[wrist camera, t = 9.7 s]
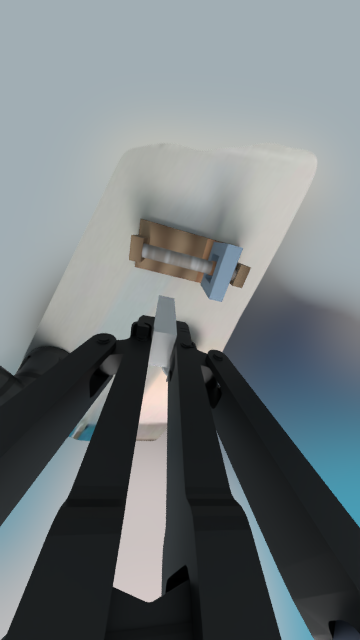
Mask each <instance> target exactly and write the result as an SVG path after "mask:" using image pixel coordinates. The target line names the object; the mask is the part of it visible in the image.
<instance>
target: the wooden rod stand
mask: <svg viewBox="0 0 360 640" xmlns="http://www.w3.org/2000/svg"><path fill="white" fill-rule="evenodd" d="M214 242H219V241H216V240H212V239H209V238H205V237H202V236H198V235H195V234H191V233H188V232H185V231H181V230H178V229H174V228H171V227H167V226H164V225H161V224H157V223H154V222H150V221H147V220H143V219H141V220H140V229H139V235H131V244H130V254H129V260H131V261H135V262H136V263H135V267H138V268H142V269H146V270H150V271H154V272H158V273H162V274H166V275H170V276H174V277H179V278H183V279H187V280H191V281H195V282H199V283H201V281H202V278H203V275H204V273H206V274H208V275H211V276H213V273H214V270H215V267H216V264H217V262H216V261H209V260H208V259H209V256H210V252H211V249H212V246H213V243H214ZM219 243H222V242H219ZM249 271H250V267H248V266H246V265H243V264H241V263H238V262H237V265H236V267H235V270H234V272H233V275H232V278H231V280H230V284H231V285H232V286H236V287H240V288H242V287H243V284H244V282H245V280H246V278H247V275H248V273H249Z"/></svg>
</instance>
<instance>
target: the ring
mask: <svg viewBox="0 0 360 640" xmlns="http://www.w3.org/2000/svg"><path fill="white" fill-rule="evenodd" d="M242 250H243V248H241V247H237V246H234V245H230V244H226V243H219V242H214V243H213V246H212V249H211V252H210V256H209V259H208V260H209V261H216V262H217V264H216V267H215V270H214V273H213V276H211V275H208V274H206V273H204V275H203V278H202V281H201V286H202V288H203V290H204V291H205V293H206V295H207V296H208V298H209V299H212V300H216V301H220V302H222V300H223V298H224V295H225V293H226V290H227V288H228V285H229V283H230V280H231V278H232V275H233V272H234V270H235V267H236V265H237V262H238V260H239V257H240V255H241V252H242Z"/></svg>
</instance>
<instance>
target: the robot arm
mask: <svg viewBox="0 0 360 640" xmlns="http://www.w3.org/2000/svg"><path fill="white" fill-rule="evenodd" d="M169 364H170V368H169V372H168V376H167V379H166V382H168V421H167V495H166V498H167V500H166V530H165V537H164V545H163V560H162V596H161V597H159V598H158V599H156V600H155V601H153V602H145V601H143V600H140V599H138V598H136V597H134V596H132V595H130V594H127V593H125V592H123V591H121V590H119V589H116V588H114V587H113V581H114V575H115V569H116V562H117V556H118V549H119V544H120V538H121V530H122V524H123V519H124V511H125V505H126V498H127V491H128V485H129V479H130V473H131V467H132V460H133V454H134V447H135V442H136V436H137V430H138V424H139V417H140V411H141V405H142V399H143V393H144V387H145V381H146V374H147V368H148V365H152V366H160V367H167V368H168V367H169ZM114 374H116V375H115V378H114V380H113V383H112V386H111V388H110V391H109V393H108V396H107V399H106V401H105V404H104V406H103V409H102V411H101V414H100V417H99V419H98V422H97V424H96V427H95V430H94V432H93V435H92V437H91V440H90V443H89V445H88V448H87V450H86V453H85V456H84V458H83V461H82V463H81V466H80V469H79V471H78V474H77V477H76V479H75V482H74V484H73V487H72V489H71V492H70V494H69V496H68V498H67V499H66V501H65V502H64V503H63V505H62V506H61V507H60V509H59V511H58V513H57V515H56V517H55V519H54V521H53V523H52V525H51V528H50V530H49V532H48V534H47V537H46V539H45V542H44V544H43V547H42V549H41V552H40V554H39V557H38V559H37V562H36V564H35V566H34V569H33V571H32V574H31V576H30V579H29V581H28V583H27V586H26V588H25V591H24V593H23V596H22V598H21V601H20V603H19V606H18V608H17V611H16V613H15V616H14V618H13V620H12V623H11V625H10V628H9V630H8V633H7V634H6V635H5V636H4V637H3V638H2V639H1V640H281V636H280V633H279V629H278V626H277V622H276V618H275V614H274V611H273V607H272V604H271V600H270V597H269V593H268V589H267V586H266V582H265V578H264V575H263V571H262V568H261V564H260V560H259V557H258V553H257V549H256V546H255V542H254V538H253V535H252V531H251V528H250V525H249V522H248V519H247V516H246V514H245V512H244V510H243V509H242V507H241V505H239V503H238V502H237V501H236V500H235V499H234V498H233V496H232V494H231V490H230V487H229V483H228V478H227V474H226V470H225V466H224V462H223V458H222V453H221V449H220V445H219V441H218V437H217V433H218V435H219V437H220V440H221V441H222V444H223V446H224V449H225V451H226V453H227V455H228V458H229V460H230V462H231V464H232V467H233V469H234V471H235V473H236V476H237V478H238V480H239V482H240V484H241V487H242V489H243V491H244V494H245V496H246V498H247V500H248V502H249V505H250V507H251V509H252V512H253V514H254V516H255V518H256V521H257V523H258V525H259V527H260V529H261V532H262V534H263V536H264V538H265V541H266V543H267V545H268V547H269V549H270V552H271V554H272V556H273V559H274V561H275V563H276V565H277V568H278V570H279V572H280V574H281V576H282V578H283V580H284V583H285V585H286V587H287V589H288V591H289V593H290V595H291V597H292V599H293V601H294V603H295V605H296V607H297V609H298V610H299V612H300V614H301V616H302V618H303V620H304V622H305V624H306V625H307V627H308V629H309V631H310V633H311V635H312V636H313V638H314V640H360V528H359V526H358V525H357V524H356V522H355V521H354V520H353V519H352V517H351V516H350V515H349V513H348V512H347V511H346V510H345V508H344V507H343V506H342V504H341V503H340V502H339V501H338V499H337V498H336V497H335V496H334V494H333V493H332V491H331V490H330V489H329V488H328V486H327V485H326V484H325V482H324V481H323V480H322V479H321V477H320V476H319V475H318V473H317V472H316V471H315V470H314V468H313V467H312V466H311V464H310V463H309V462H308V461H307V459H306V458H305V457H304V455H303V454H302V453H301V451H300V450H299V449H298V448H297V446H296V445H295V444H294V442H293V441H292V440H291V439H290V437H289V436H288V435H287V433H286V432H285V431H284V430H283V428H282V427H281V426H280V424H279V423H278V422H277V420H276V419H275V418H274V417H273V415H272V414H271V413H270V412H269V410H268V409H267V408H266V406H265V405H264V404H263V403H262V401H261V400H260V399H259V397H258V396H257V395H256V393H255V392H254V391H253V389H252V388H251V387H250V386H249V384H248V383H247V382H246V381H245V379H244V378H243V377H242V375H241V374H240V373H239V372H238V370H237V369H236V368H235V366H234V365H233V364H232V362H231V361H230V360H229V358H228V357H227V356H226V355H225V354H224V353H222V352H221V351H218V350H210V351H209V352H208V354H206V353H203V352H201V351H199V350H197V348H196V345H195V344H194V343H193V342H192V341H191V336H190V332H189V327H188V325H187V324H186V323H185V322H181V321H176V314H175V301H174V298H169V297H164V296H160V295H159V299H158V304H157V310H156V315H155V317H150V316H145V315H142V316H141V317H139V320H138V321H137V322H134V323H133V324H132V327H131V336H130V338H128V339H125V340H116V338H115V337H114V336H113V335H111V334H107V333H101V334H97V335H94V336H93V337H91V338H90V339H89V340H87V341H86V342H85V343H83V344H82V345H81V346H79V347H78V348H77V349H75V350H74V351H73V352H71V353H70V354H69V353H67V352H66V351H64V350H61V349H59V348H55V347H39V348H36V349H34V350H33V351H32V352H30V353H29V354H28V355H27V356H26V357H25V358H24V360H23V362H22V364H21V365H20V367H19V369H18V371H17V372H16V374H15V375H14V376H13V375H12V374H11V373H9V372H8V371H7V370H5V369H4V368H3V367H2V366H0V526H1V525H2V523H3V522H4V521H5V519H6V518H7V517H8V515H9V514H10V513H11V511H12V510H13V509H14V507H15V506H16V505H17V504H18V502H19V501H20V500H21V498H22V497H23V496H24V494H25V493H26V491H27V490H28V489H29V488H30V486H31V485H32V484H33V482H34V481H35V480H36V478H37V477H38V476H39V474H40V473H41V472H42V470H43V469H44V468H45V466H46V465H47V463H48V462H49V461H50V460H51V458H52V457H53V456H54V454H55V453H56V452H57V450H58V449H59V448H60V446H61V445H62V444H63V442H64V441H65V439H66V438H67V437H68V436H69V434H70V433H71V432H72V431H73V429H74V428H75V427H76V425H77V424H78V423H79V421H80V420H81V419H82V417H83V416H84V415H85V413H86V412H87V411H88V409H89V408H90V407H91V405H92V404H93V403H94V401H95V400H96V399H97V397H98V396H99V395H100V393H101V392H102V391H103V389H104V388H105V387H106V385H107V384H108V383H109V381H110V380H111V379H112V377H113V375H114ZM218 383H219V385H220V386H219V385H218ZM216 431H217V432H216Z"/></svg>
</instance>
